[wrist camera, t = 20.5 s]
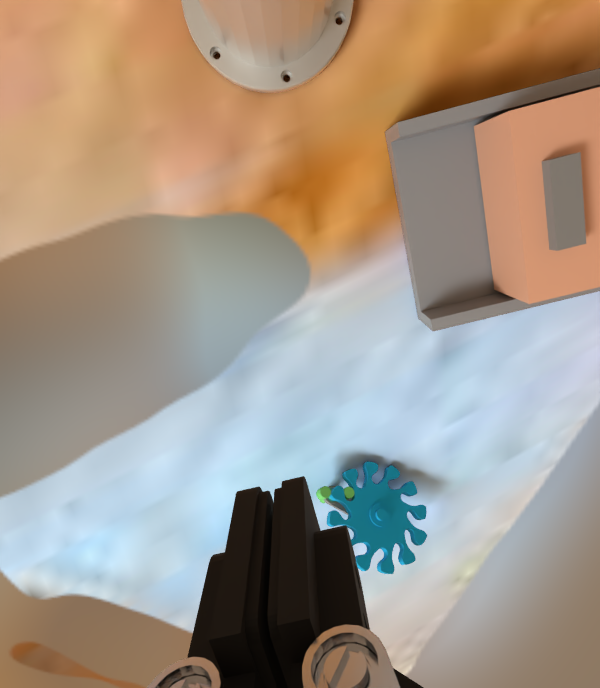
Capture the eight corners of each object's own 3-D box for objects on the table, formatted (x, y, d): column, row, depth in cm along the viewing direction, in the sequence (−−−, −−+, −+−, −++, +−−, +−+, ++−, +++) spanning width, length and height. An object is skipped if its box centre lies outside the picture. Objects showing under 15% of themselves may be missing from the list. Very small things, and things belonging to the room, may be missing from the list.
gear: (442, 490, 45) (414, 595, 40) (414, 499, 50) (385, 593, 45) (344, 436, 45) (303, 535, 40) (325, 450, 50) (287, 540, 45)
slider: (589, 95, 35) (660, 69, 28) (599, 263, 39) (664, 276, 32) (473, 126, 36) (516, 107, 29) (494, 289, 39) (536, 307, 33)
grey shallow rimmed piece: (636, 64, 36) (683, 45, 32) (642, 263, 41) (683, 270, 36) (384, 131, 37) (397, 122, 33) (418, 318, 42) (432, 331, 37)
